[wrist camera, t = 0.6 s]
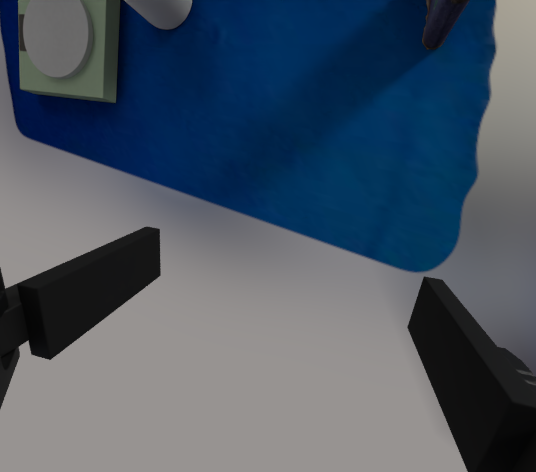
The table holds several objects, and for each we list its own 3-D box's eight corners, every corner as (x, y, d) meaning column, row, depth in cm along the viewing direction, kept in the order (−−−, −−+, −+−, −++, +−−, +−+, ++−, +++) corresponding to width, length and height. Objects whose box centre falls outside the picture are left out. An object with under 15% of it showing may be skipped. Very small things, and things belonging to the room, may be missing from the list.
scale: (34, -17, 44) (11, -32, 40) (121, -17, 40) (102, -34, 37) (36, 94, 47) (14, 87, 44) (116, 103, 43) (98, 96, 40)
